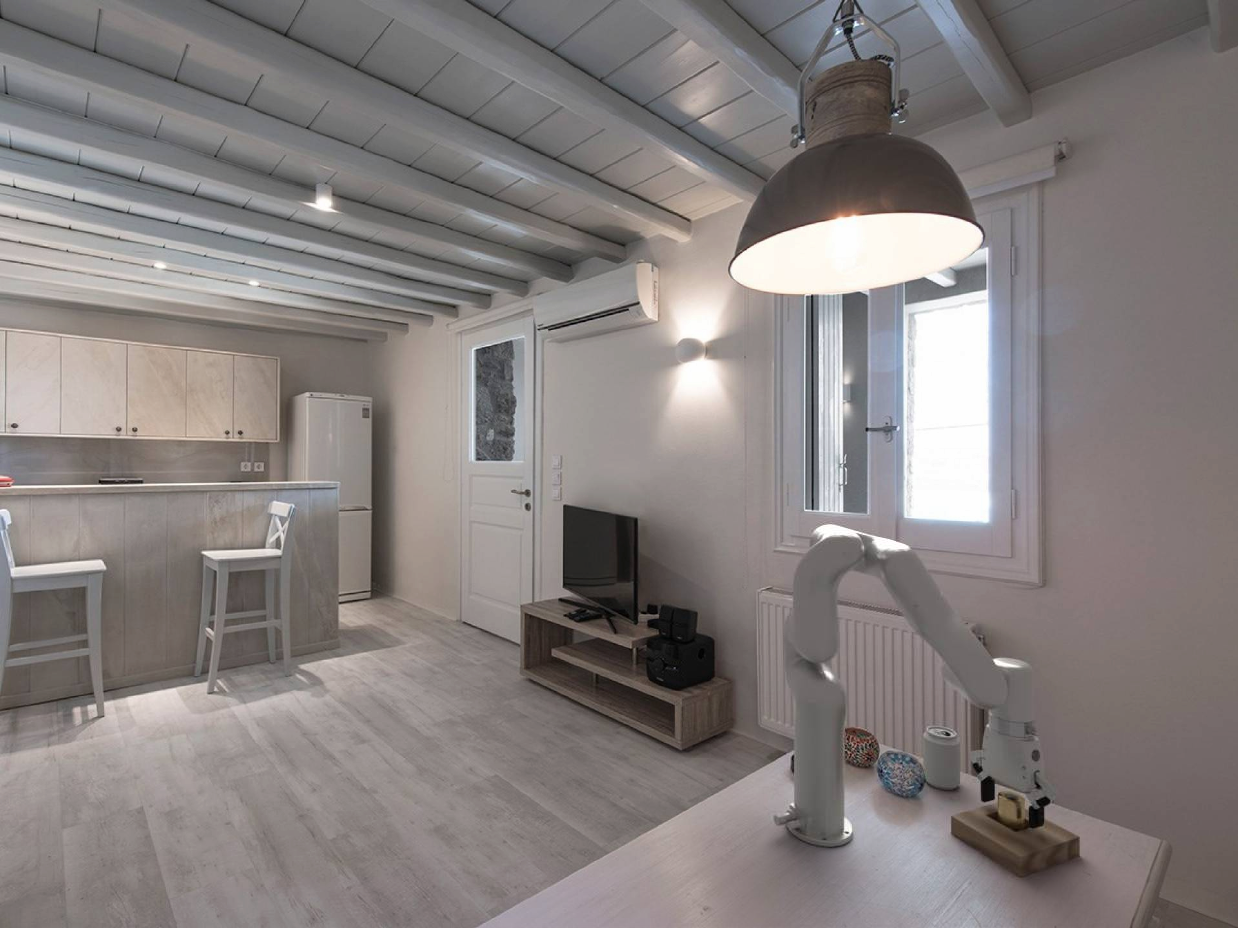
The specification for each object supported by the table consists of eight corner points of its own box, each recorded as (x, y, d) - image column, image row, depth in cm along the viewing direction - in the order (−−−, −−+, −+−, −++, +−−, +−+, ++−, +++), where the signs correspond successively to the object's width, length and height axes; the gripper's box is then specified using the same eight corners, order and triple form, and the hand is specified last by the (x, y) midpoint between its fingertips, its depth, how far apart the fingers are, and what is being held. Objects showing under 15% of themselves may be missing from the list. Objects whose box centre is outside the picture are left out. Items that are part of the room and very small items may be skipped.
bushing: (1014, 847, 117) (1014, 804, 118) (992, 834, 122) (992, 793, 122) (1030, 842, 119) (1030, 799, 119) (1008, 829, 123) (1008, 788, 123)
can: (965, 793, 137) (965, 738, 137) (928, 789, 139) (928, 735, 139) (953, 776, 144) (953, 725, 144) (919, 773, 146) (919, 722, 146)
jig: (1020, 876, 109) (1020, 856, 109) (951, 833, 122) (951, 815, 122) (1079, 855, 115) (1079, 836, 115) (1007, 816, 128) (1007, 799, 128)
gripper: (1070, 739, 114) (1070, 833, 114) (983, 706, 130) (983, 788, 130) (1043, 746, 111) (1043, 842, 111) (957, 711, 127) (957, 795, 127)
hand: (1011, 813), depth 120 cm, fingers open, 9 cm apart
